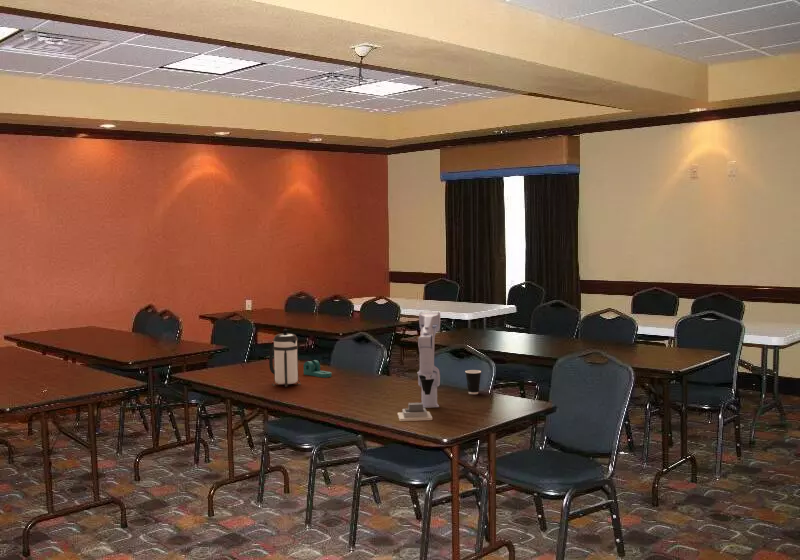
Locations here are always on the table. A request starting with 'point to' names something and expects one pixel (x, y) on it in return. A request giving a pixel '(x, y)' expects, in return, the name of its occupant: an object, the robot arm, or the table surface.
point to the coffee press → (284, 358)
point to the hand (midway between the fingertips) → (426, 392)
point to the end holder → (414, 415)
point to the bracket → (315, 369)
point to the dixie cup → (473, 381)
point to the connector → (415, 407)
